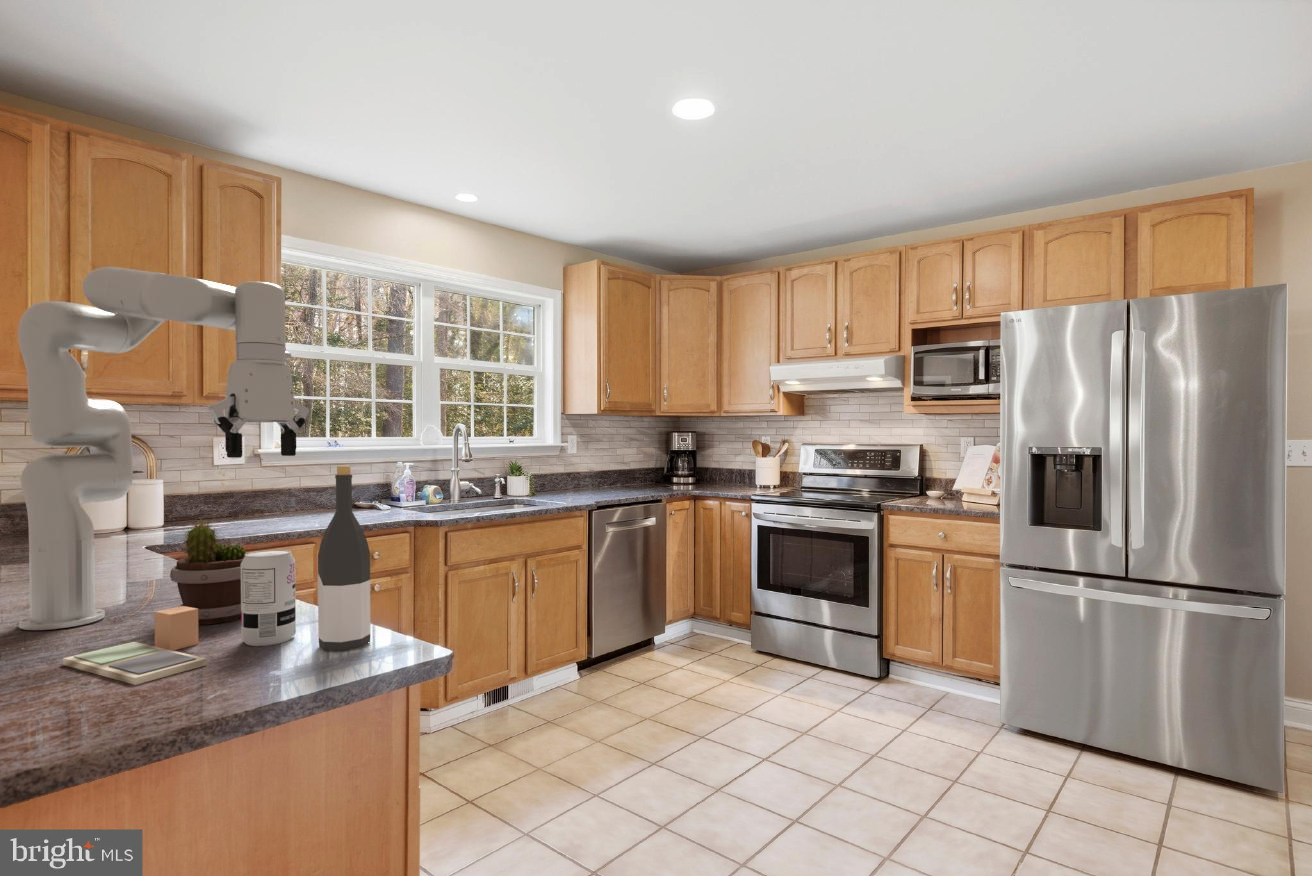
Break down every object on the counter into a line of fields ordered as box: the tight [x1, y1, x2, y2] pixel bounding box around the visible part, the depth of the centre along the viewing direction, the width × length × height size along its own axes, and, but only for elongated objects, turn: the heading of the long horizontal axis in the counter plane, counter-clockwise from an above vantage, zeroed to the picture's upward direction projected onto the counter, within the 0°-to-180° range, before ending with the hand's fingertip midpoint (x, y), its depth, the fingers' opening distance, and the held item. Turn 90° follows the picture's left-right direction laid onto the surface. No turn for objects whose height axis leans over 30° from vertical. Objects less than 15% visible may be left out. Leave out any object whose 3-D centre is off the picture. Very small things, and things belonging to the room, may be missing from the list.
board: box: [62, 641, 208, 686], centre depth 112 cm, size 20×10×1 cm, turn 62°
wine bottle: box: [317, 465, 371, 652], centre depth 122 cm, size 8×8×30 cm
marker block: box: [153, 605, 200, 651], centre depth 123 cm, size 4×4×6 cm
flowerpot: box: [169, 516, 248, 625], centre depth 141 cm, size 14×15×20 cm
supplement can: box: [240, 549, 297, 647], centre depth 125 cm, size 8×8×15 cm
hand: (262, 456), depth 125 cm, fingers open, 9 cm apart
